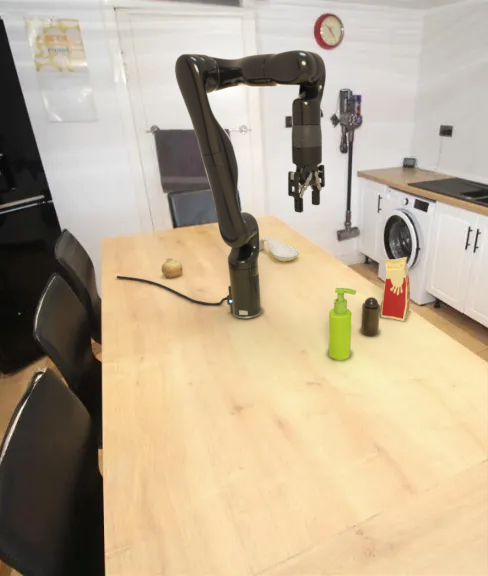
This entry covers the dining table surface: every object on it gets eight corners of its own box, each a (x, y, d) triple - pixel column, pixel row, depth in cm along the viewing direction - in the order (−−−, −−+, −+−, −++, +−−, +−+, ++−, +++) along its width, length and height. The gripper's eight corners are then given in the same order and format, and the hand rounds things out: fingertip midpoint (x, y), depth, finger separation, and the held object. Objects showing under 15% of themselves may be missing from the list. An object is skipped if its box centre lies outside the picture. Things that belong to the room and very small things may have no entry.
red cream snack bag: (409, 308, 138) (415, 252, 129) (405, 321, 130) (411, 263, 121) (382, 304, 140) (386, 249, 132) (376, 316, 133) (380, 259, 124)
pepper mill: (358, 333, 123) (359, 299, 118) (365, 325, 128) (367, 292, 123) (374, 338, 121) (376, 303, 116) (380, 330, 125) (383, 296, 120)
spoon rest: (304, 259, 179) (304, 243, 176) (284, 266, 171) (284, 250, 168) (268, 246, 193) (267, 232, 190) (248, 253, 185) (247, 238, 182)
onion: (186, 272, 166) (184, 255, 163) (178, 280, 159) (176, 263, 156) (167, 271, 167) (165, 255, 164) (159, 279, 159) (155, 262, 156)
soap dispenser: (352, 361, 110) (354, 295, 102) (327, 358, 112) (327, 293, 103) (354, 349, 116) (357, 285, 107) (330, 346, 117) (331, 283, 108)
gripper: (308, 140, 108) (309, 201, 115) (277, 145, 97) (280, 212, 104) (333, 141, 105) (332, 204, 112) (304, 147, 94) (305, 216, 101)
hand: (307, 208), depth 108 cm, fingers open, 8 cm apart
